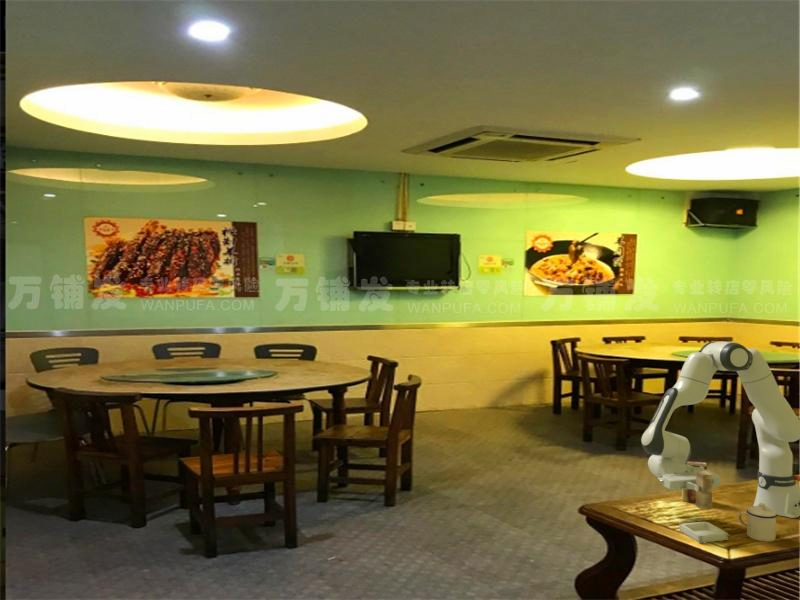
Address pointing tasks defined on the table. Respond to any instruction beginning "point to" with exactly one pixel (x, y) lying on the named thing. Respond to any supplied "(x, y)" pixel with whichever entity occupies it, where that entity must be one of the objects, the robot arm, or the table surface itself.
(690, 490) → the candy box
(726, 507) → the table surface
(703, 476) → the wooden block
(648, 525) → the table surface
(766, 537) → the teacup with lid
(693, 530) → the tray
